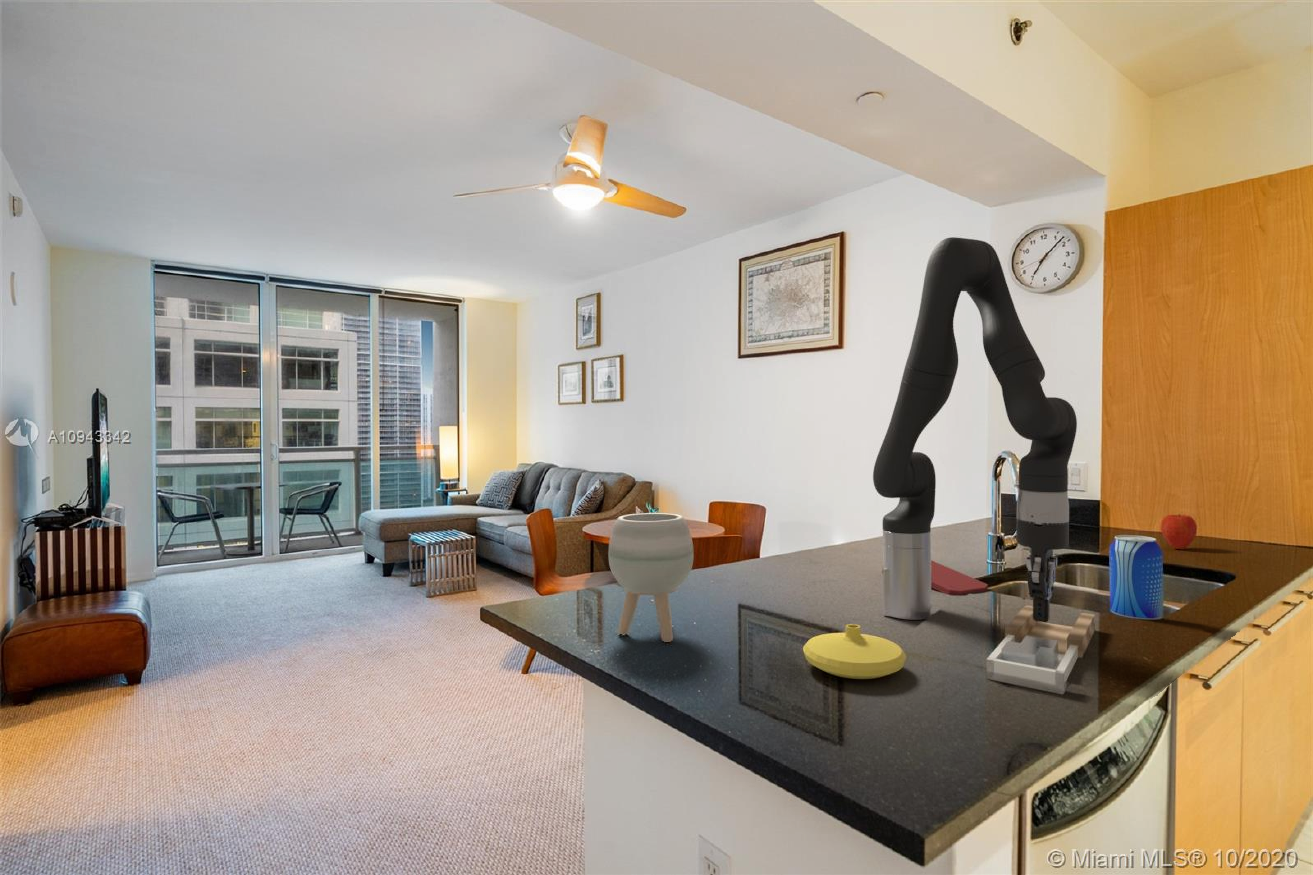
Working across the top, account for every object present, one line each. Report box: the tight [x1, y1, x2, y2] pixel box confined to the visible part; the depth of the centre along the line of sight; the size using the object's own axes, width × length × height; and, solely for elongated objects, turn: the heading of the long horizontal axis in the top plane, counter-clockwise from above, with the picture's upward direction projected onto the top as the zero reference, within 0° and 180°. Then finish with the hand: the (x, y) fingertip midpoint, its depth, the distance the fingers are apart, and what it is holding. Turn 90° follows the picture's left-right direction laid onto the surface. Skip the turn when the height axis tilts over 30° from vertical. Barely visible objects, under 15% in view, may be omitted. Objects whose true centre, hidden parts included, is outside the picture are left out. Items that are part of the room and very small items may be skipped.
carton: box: [881, 559, 989, 596], centre depth 162 cm, size 12×5×25 cm
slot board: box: [1004, 605, 1096, 659], centre depth 115 cm, size 18×11×4 cm, turn 141°
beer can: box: [1108, 534, 1164, 620], centre depth 128 cm, size 8×8×16 cm
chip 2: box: [1021, 636, 1058, 668], centre depth 103 cm, size 4×4×3 cm
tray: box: [986, 634, 1079, 695], centre depth 102 cm, size 15×10×3 cm, turn 141°
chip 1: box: [1002, 641, 1041, 667], centre depth 101 cm, size 4×4×3 cm
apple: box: [1160, 513, 1198, 550], centre depth 197 cm, size 9×8×11 cm
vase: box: [802, 623, 907, 680], centre depth 105 cm, size 16×16×7 cm
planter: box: [607, 512, 694, 643], centre depth 124 cm, size 16×16×22 cm
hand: (1041, 620), depth 109 cm, fingers closed
